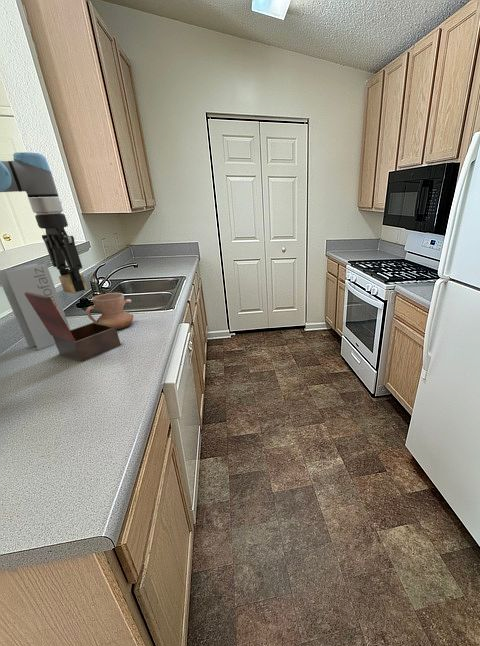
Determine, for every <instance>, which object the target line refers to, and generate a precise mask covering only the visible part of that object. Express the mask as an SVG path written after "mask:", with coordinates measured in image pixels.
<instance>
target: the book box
mask: <svg viewBox="0 0 480 646" xmlns="http://www.w3.org/2000/svg"><path fill="white" fill-rule="evenodd" d="M70 332H71V333H72V335H73V337H74V338H75V341H74V342H72V341H69V340H65V339H62V338H58V337H55V336H53V338H54V341H55V346H56V348H57V350H58V353H59V355H61V356H64V357H67V358H69V359H73V360H76V361H79V362H84V361H87V360H89V359H91V358H93V357H96V356H99V355H101V354H103V353H106V352H108V351H110V350H112V349H115V348H117V347H119V346H122V344H121V340H120V337H119V334H118V330H116V327H112V326H107V325H103V324H99V323H95V322H93V321H92V322H90V323H88V324H84V325H81V326H78V327H75V328H73V329H70Z"/></svg>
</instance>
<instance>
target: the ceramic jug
mask: <svg viewBox="0 0 480 646" xmlns="http://www.w3.org/2000/svg"><path fill="white" fill-rule="evenodd" d="M91 300H92V303H93V305H90V306H88V307H86V309H85V310H86V311H85V312H86V315H87V317H88V318H89V320H91V321H92V323H93V322H95V323H99V324H103V325H107V326H112V327H116V330H117V331H118V330H122V329H125V328H127V327H128V326H130V325H131V324H132V323H133V321H134V315H133V314H131V313H130V312H127V311H125V310H124V306H125V305H126V304H128V303H130V304H131V303H132V299H130V298H127V299H125V294H124V293H122V292H108V293H104V294H99V295H94V296H93V297H92V298H91ZM92 310H93V311H94V310H95V311H96V312H97V311H98V312H100V313H101V315H100V316H99V317H98V318H97V319H95V318H94V317H93V316H92V314H91V311H92Z"/></svg>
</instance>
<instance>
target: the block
mask: <svg viewBox="0 0 480 646" xmlns="http://www.w3.org/2000/svg"><path fill="white" fill-rule="evenodd" d="M80 276H81V279H82V282H83V285H84V288H85V290H83V291H82V292H84V291H87V290H88V287H87V283H86V280H85V277H84V274H82V273H80ZM58 279H59V282H60V284H61V287H62V290H63V292H64V293H69V294H75V293H76V294H77V292H76V291H75V288H74V285H73V282H72V279H71V277H70V274H68V275H63V276H61V275H59V276H58ZM79 292H81V291H79ZM79 292H78V293H79Z"/></svg>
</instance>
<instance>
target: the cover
mask: <svg viewBox="0 0 480 646" xmlns="http://www.w3.org/2000/svg"><path fill="white" fill-rule="evenodd" d="M24 294H25V296H26V297H27V299H28V301H29V302H30V304H31V305H32V307H33V308H34V310H35V311H36V313H37V315H38V316H39V318H40V319H41V321H42V322H43V324H44V326H45V327H46V329H47V330H48V332H49V333H50V335H52V336H55V337H58V338H62V339H65V340H69V341H72V342H74V341H75V338H74V337H73V335H72V333H71V332H70V330H71V329H70V330H69V328H68V327H67V325H66V323H65V322H64V320H63V318H62V317H61V315H60V313H59V312H58V310H57V308H56V307H55V305H54V303H53V302H52V300H51V298H50V297H48V296H43V295H38V294H33V293H28V292H26V293H24Z"/></svg>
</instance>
